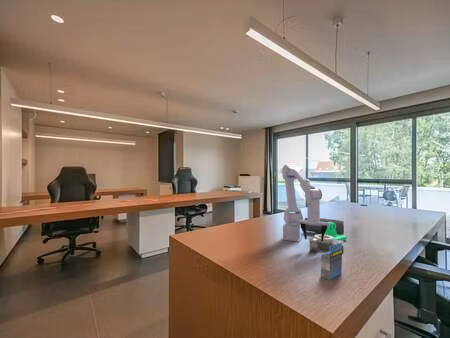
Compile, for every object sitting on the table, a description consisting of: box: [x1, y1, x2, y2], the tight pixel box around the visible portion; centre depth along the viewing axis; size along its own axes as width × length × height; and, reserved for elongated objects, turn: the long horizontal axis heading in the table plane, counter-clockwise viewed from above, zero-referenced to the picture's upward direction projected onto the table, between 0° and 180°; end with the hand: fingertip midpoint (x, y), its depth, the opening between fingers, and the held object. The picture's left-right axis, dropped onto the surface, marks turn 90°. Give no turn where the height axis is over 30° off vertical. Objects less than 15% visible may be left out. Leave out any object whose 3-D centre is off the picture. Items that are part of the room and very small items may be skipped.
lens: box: [308, 237, 319, 254], centre depth 112 cm, size 4×4×6 cm
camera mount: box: [324, 222, 348, 243], centre depth 130 cm, size 12×8×10 cm, turn 121°
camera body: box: [314, 234, 344, 254], centre depth 117 cm, size 14×9×6 cm, turn 62°
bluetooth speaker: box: [303, 217, 345, 236], centre depth 143 cm, size 23×9×10 cm, turn 61°
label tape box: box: [320, 243, 343, 281], centre depth 85 cm, size 9×4×12 cm, turn 126°
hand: (313, 240), depth 112 cm, fingers open, 7 cm apart
